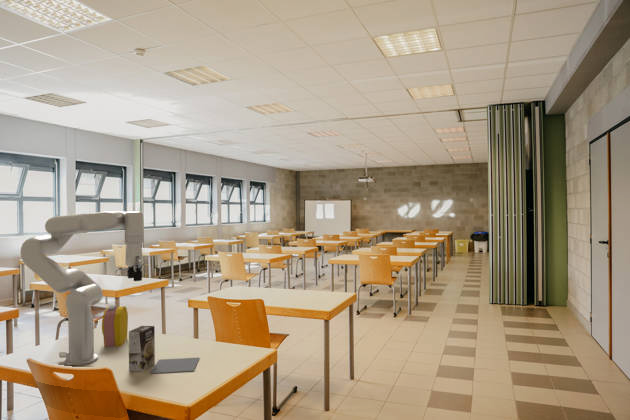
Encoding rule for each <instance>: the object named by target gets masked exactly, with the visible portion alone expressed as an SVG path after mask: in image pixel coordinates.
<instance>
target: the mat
mask: <svg viewBox="0 0 630 420" xmlns="http://www.w3.org/2000/svg"><path fill="white" fill-rule="evenodd" d="M199 360H200V357H183V358H167V359H165V358H164V359H158V360H157V361H156V362H155V364H154V365H153V367H152V369H151V370H150V372H149V374H150V375H157V374H158V375H160V374H172V373H173V374H174V373H190V372H195V369H196V367H197V364H198V363H199Z"/></svg>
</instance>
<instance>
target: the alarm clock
mask: <svg viewBox="0 0 630 420" xmlns="http://www.w3.org/2000/svg"><path fill="white" fill-rule="evenodd" d="M128 314H129V313H128V309H127V306H118V304H112V305H109V306H108V307H106V308H105V309H104V311H103V315H102V318H101V319H102V320H101V332H102V336H103V347H104V348H107V347H108V348H109V347H121V346H122V345H123V344H124V343H125V342H126V341H127V339H128V328H129V327H128V326H129V325H128V324H129V323H128V322H129V321H128V318H129V317H128V316H129V315H128ZM125 340H126V341H125Z"/></svg>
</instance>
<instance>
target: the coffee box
mask: <svg viewBox="0 0 630 420" xmlns="http://www.w3.org/2000/svg"><path fill="white" fill-rule="evenodd" d="M155 332H156V331H155V325H140V326H139V327H135V328H133V329H132V330H129V331H128V371H130V372H140V373H142V372H144V371H146V370H147V369H149V368H150V367H152V366H155V365H156V360H155V359H156V355H155V354H156V352H155V351H156V350H155V349H156V348H155V347H156V346H155V345H156V344H155V343H156V340H155Z"/></svg>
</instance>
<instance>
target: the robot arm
mask: <svg viewBox="0 0 630 420" xmlns="http://www.w3.org/2000/svg"><path fill="white" fill-rule="evenodd" d="M44 224H45V225H44V229H45V232H47V233H48V235H40V236H32V237H29V238H28V239H26V240H25V241H23V243H22V245H21V247H20V257H21V260H22V262H23V264H24V265H25V266H26V267H27V268H28V269H29V270H30V271H32V272H33V273H34V274H36V275H37V276H38V277H39V278H40V279H41V280H42V281H43V282H44V283H45V284H47V285H48V286H49V287H50V288H51V289H52V290H53V291H54V292H56V293H59V294H65V293H68V294H67V295H66V297H65V308H66V311H67V323H68V327H67V330H68V333H67V335H68V350H67V351H60V352H59V353H58V356H59V358H61V359H62V358H65V359H64V364H65V365H66V366H70V365H76V366H82V365H87V364H90V363H93V362H95V361H97V360H98V359H99V356H98V354H96V353H95V352H94V351H95V347H94V345H95V343H94V342H95V341H94V339H95V338H94V337H95V335H94V330H95V329H94V314H93V311H92V306H95V305H96V304H98V303H100V302H101V300H102V299H103V296H104V291H103V290H102V288H101V286H100V285H99V284H98V283H96V281H94V280H93V279H92V278H91V277H90V276H89V275H87V273H85V272H84V271H83V270H81V269H80V268H79V269H78V268H69V269H65V268H64V267H63V266H61V265H60V264H59V263H58V262H56V261H55V260H54V259H53V258H50V257H48V255H53V254H56V253H57V252H59V251H61V250H62V248H64V246H65V245H66V244H67V243H68V242H69V241H70V240H71V238H72V237H73V236H74V235H76V234H79V235H80V234H87V233H88V232H96V231H106V230H115V229H116V230H117V229H124V244H125V245H126V246H125V258H124V259H125V266H127V279H133V282H140V281H141V282H142V281H143V275H142V274H143V270H142V265H143V248H142V247H143V246H142V244H144V213H143V212H142V211H121V210H113V211H111V210H110V211H109V210H108V211H101V212H100V211H99V212H91V213H77V214H69V215H68V214H66V215H58V216H53V217H50V218H48V220H47V221H46V222H45V223H44Z"/></svg>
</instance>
